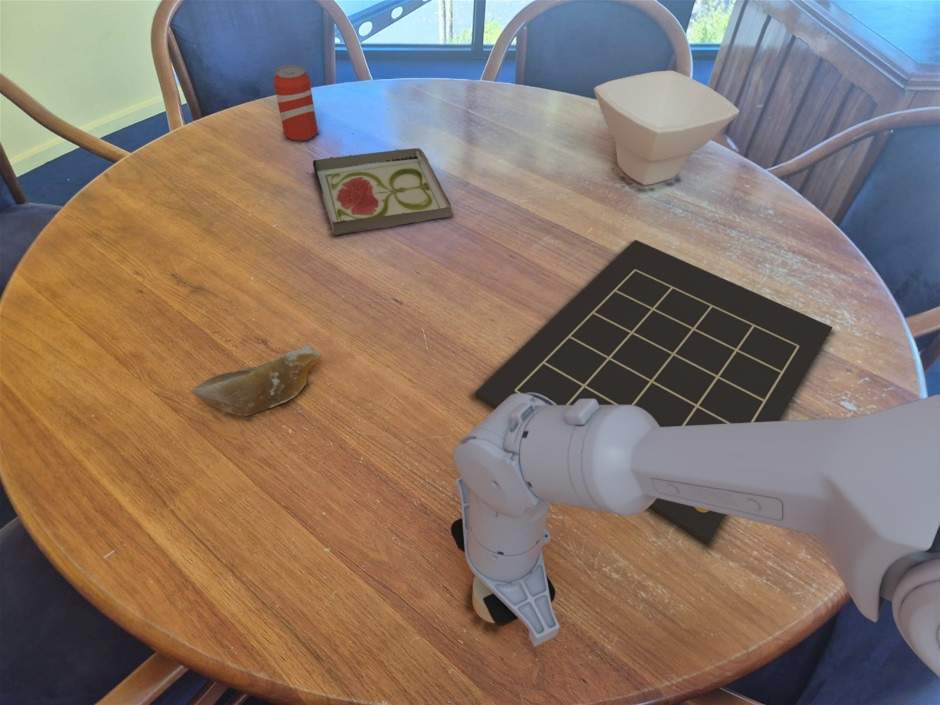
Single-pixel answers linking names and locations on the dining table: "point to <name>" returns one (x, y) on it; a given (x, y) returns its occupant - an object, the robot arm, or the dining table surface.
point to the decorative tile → (380, 190)
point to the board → (667, 353)
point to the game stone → (481, 599)
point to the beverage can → (295, 102)
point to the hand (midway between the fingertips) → (496, 593)
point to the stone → (259, 384)
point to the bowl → (660, 121)
